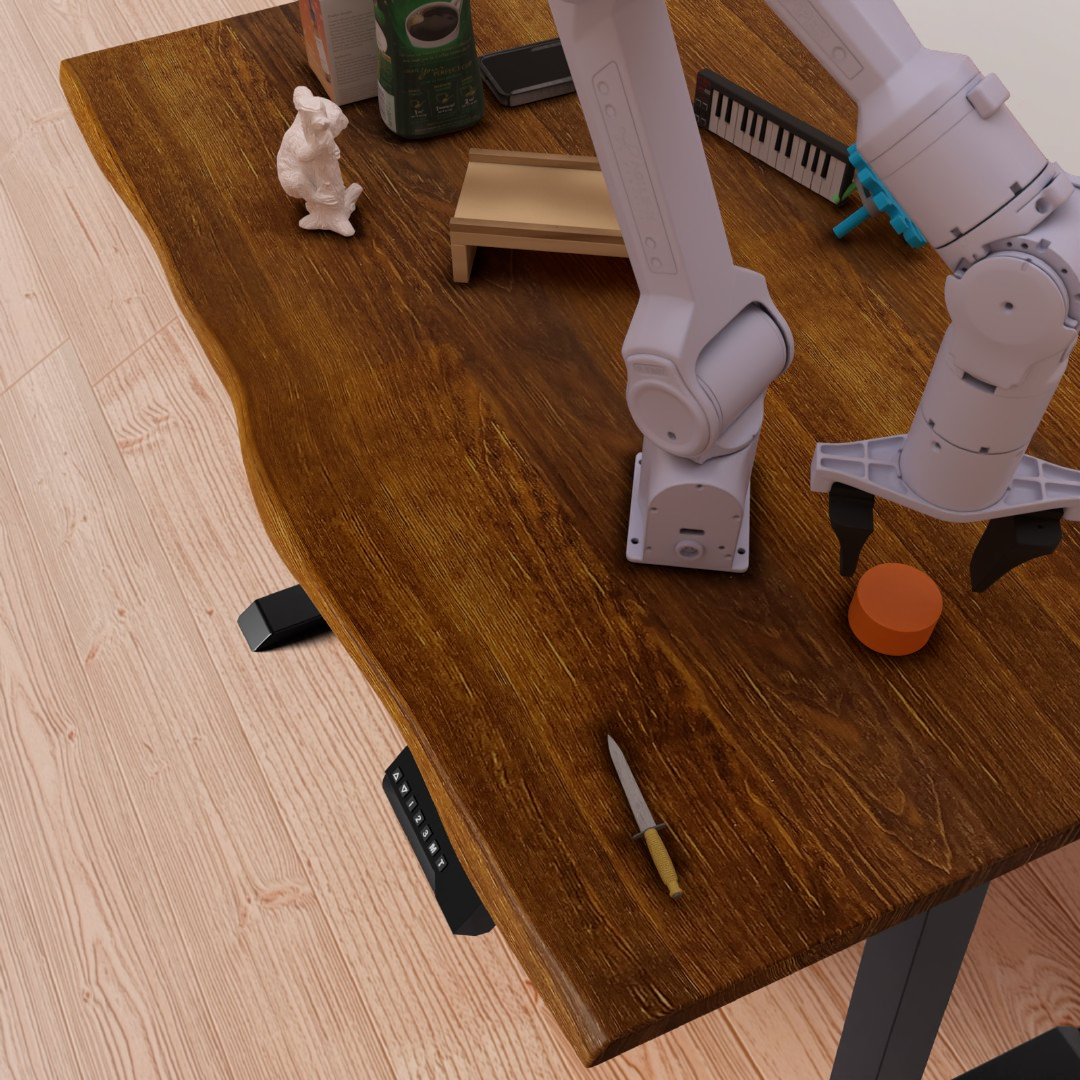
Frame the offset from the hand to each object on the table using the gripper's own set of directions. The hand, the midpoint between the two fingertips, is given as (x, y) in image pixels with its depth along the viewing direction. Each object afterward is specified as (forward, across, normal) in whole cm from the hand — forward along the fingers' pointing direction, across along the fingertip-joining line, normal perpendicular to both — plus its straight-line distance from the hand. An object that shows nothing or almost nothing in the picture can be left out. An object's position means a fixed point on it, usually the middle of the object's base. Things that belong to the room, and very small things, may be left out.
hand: (910, 571), depth 70 cm
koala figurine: (+6, +46, -35) cm, 58 cm away
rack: (+5, +25, -33) cm, 42 cm away
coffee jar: (+6, +40, -51) cm, 65 cm away
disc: (+5, 0, 0) cm, 5 cm away
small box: (+6, +50, -56) cm, 75 cm away
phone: (+5, +30, -60) cm, 67 cm away
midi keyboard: (+6, +9, -48) cm, 50 cm away
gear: (+6, 0, -40) cm, 40 cm away
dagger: (+5, +14, +15) cm, 22 cm away
